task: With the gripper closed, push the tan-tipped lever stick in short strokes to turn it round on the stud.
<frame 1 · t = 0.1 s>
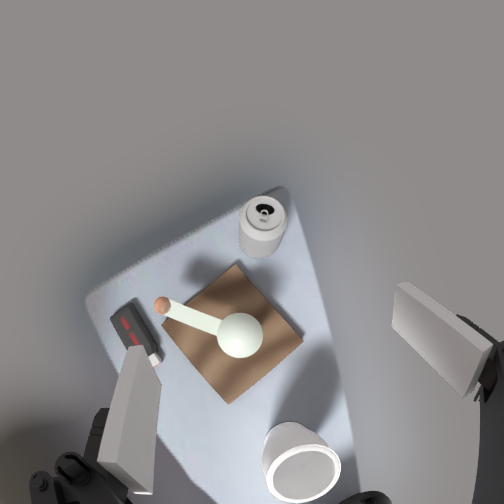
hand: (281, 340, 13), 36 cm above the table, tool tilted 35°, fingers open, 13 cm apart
can: (258, 240, 53), on the table
usb drive: (139, 338, 47), on the table
base plate: (231, 334, 47), on the table
tan-tipped lever stick: (207, 323, 40), point 8 cm above the table, hinge at 0.0°
jar: (286, 441, 42), on the table
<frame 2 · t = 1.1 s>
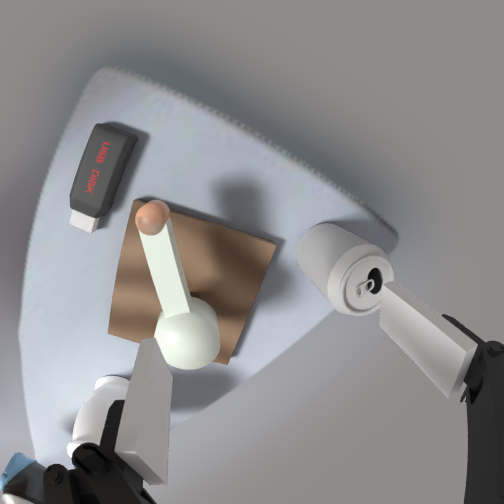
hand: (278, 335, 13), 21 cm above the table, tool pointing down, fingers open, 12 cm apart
can: (320, 249, 36), on the table
usb drive: (101, 178, 29), on the table
base plate: (184, 288, 34), on the table
tan-tipped lever stick: (173, 289, 25), point 8 cm above the table, hinge at 0.0°
jar: (119, 391, 38), on the table
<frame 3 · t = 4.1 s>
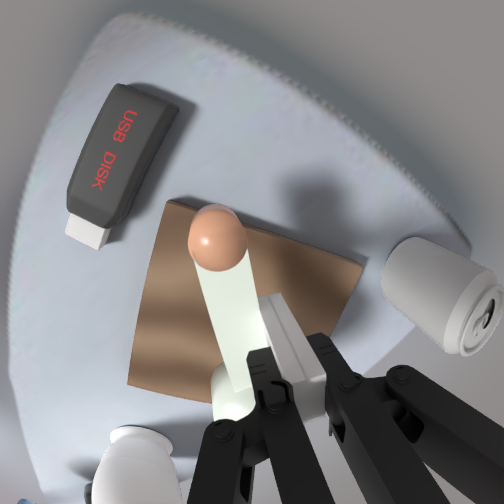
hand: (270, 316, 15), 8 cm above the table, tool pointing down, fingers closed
can: (403, 268, 26), on the table
usb drive: (116, 166, 19), on the table
base plate: (235, 326, 24), on the table
tan-tipped lever stick: (244, 348, 16), point 8 cm above the table, hinge at 0.9°, touching gripper
jar: (141, 440, 28), on the table
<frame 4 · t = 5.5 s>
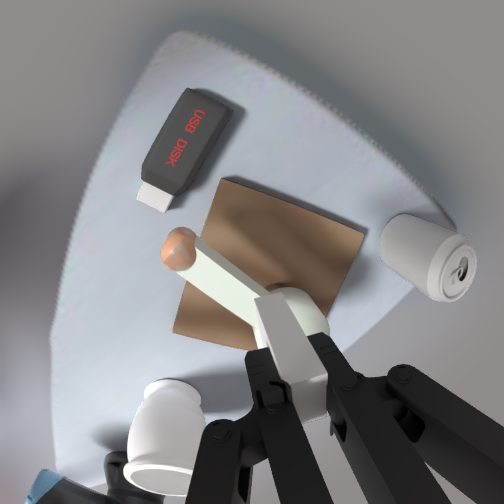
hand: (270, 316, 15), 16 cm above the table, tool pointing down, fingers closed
can: (396, 240, 33), on the table
usb drive: (181, 151, 26), on the table
base plate: (266, 280, 32), on the table
tan-tipped lever stick: (247, 298, 23), point 8 cm above the table, hinge at 38.7°
jar: (172, 396, 36), on the table
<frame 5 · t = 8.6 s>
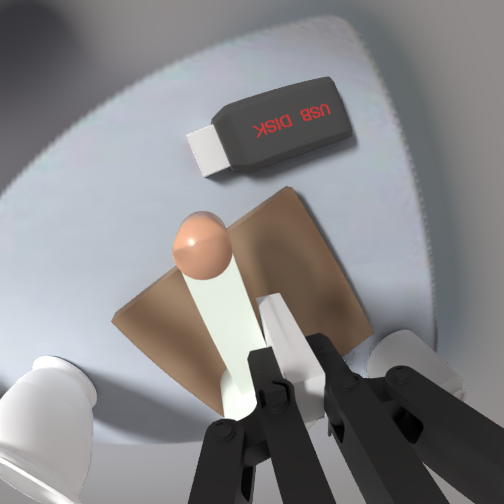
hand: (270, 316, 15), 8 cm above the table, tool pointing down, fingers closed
can: (388, 350, 30), on the table
usb drive: (268, 128, 20), on the table
base plate: (252, 325, 25), on the table
tan-tipped lever stick: (246, 350, 16), point 8 cm above the table, hinge at 43.1°, touching gripper
jar: (65, 381, 24), on the table
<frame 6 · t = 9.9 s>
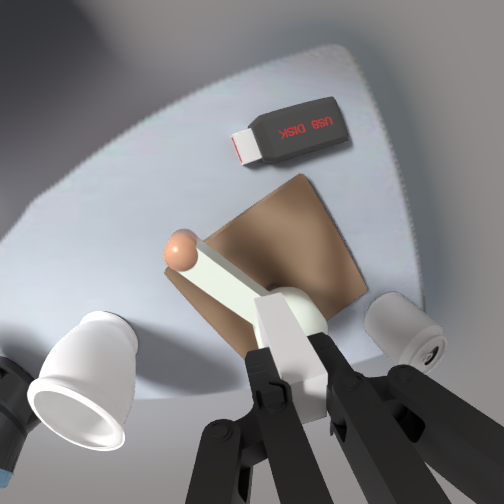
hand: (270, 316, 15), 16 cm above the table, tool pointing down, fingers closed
can: (381, 311, 37), on the table
usb drive: (287, 133, 28), on the table
base plate: (273, 279, 33), on the table
tan-tipped lever stick: (248, 298, 24), point 8 cm above the table, hinge at 74.1°
jar: (109, 336, 32), on the table
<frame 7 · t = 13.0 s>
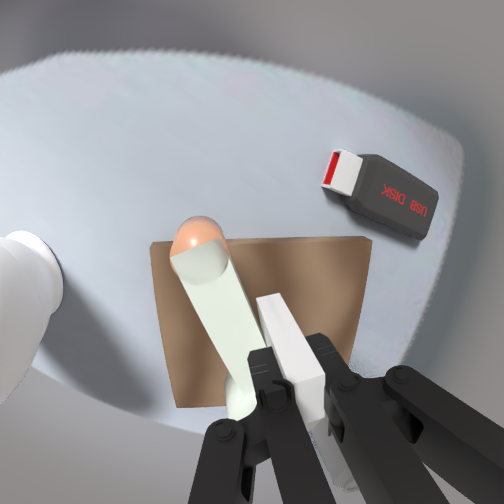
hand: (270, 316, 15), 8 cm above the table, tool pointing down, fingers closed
can: (332, 410, 31), on the table
usb drive: (378, 192, 23), on the table
base plate: (263, 329, 25), on the table
tan-tipped lever stick: (247, 352, 16), point 8 cm above the table, hinge at 80.4°, touching gripper
jar: (30, 273, 20), on the table
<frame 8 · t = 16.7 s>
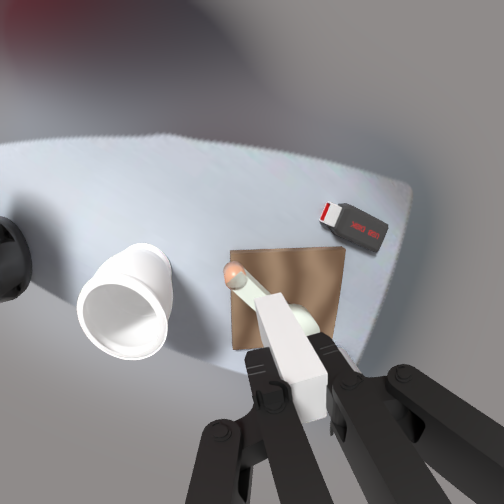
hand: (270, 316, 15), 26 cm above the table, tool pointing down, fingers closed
usb drive: (351, 223, 44), on the table
base plate: (286, 298, 45), on the table
tan-tipped lever stick: (271, 309, 36), point 8 cm above the table, hinge at 102.5°
jar: (145, 269, 40), on the table
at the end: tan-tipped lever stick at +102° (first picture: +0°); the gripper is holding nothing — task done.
